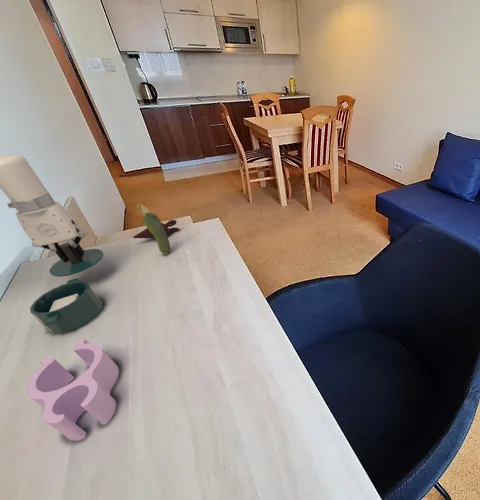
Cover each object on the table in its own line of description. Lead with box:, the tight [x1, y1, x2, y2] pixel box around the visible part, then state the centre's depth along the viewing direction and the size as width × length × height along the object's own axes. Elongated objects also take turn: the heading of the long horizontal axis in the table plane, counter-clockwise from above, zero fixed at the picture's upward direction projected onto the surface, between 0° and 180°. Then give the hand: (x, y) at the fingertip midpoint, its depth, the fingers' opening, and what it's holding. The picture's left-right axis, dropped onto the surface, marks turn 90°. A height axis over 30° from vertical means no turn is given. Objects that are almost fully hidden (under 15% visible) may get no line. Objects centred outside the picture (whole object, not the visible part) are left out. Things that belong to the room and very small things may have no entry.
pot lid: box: [49, 242, 105, 278], centre depth 91 cm, size 13×13×7 cm
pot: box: [29, 277, 104, 335], centre depth 81 cm, size 12×18×8 cm
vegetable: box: [136, 204, 171, 256], centre depth 100 cm, size 4×4×20 cm
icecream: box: [133, 219, 180, 239], centre depth 114 cm, size 7×7×15 cm
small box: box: [49, 294, 80, 312], centre depth 82 cm, size 6×6×5 cm
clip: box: [26, 337, 120, 441], centre depth 61 cm, size 20×12×7 cm, turn 43°
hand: (74, 257), depth 91 cm, fingers closed on pot lid, 2 cm apart
